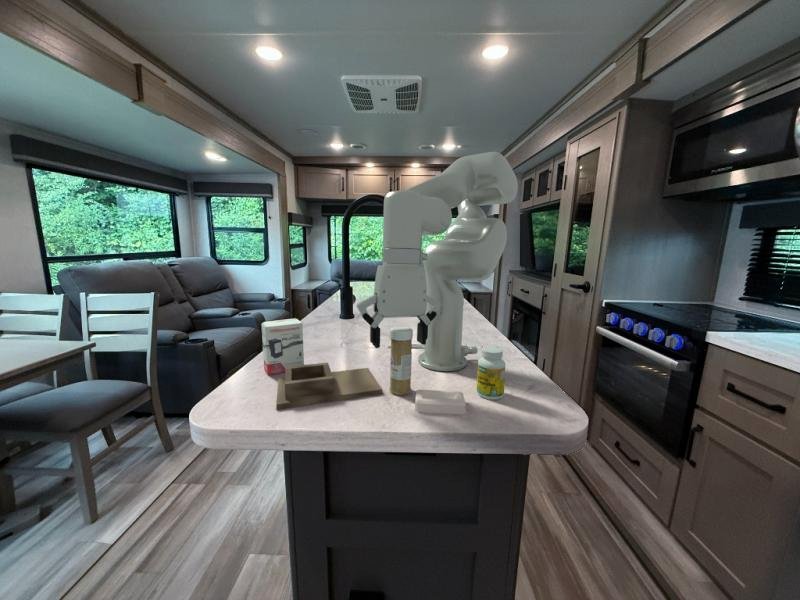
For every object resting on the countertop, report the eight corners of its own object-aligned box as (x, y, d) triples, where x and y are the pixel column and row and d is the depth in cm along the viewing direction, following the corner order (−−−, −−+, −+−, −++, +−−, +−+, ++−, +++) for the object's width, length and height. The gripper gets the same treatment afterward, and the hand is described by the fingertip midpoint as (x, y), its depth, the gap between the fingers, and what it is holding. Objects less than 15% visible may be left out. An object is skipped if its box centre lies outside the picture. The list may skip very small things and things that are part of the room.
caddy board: (368, 371, 73) (367, 355, 72) (382, 393, 62) (382, 375, 61) (278, 382, 66) (277, 365, 66) (276, 409, 55) (275, 388, 54)
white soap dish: (465, 416, 54) (466, 403, 54) (415, 413, 55) (415, 401, 55) (462, 402, 60) (462, 390, 59) (416, 399, 60) (416, 388, 60)
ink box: (267, 376, 70) (264, 326, 68) (263, 369, 74) (260, 321, 72) (304, 368, 74) (303, 321, 72) (299, 362, 78) (297, 317, 76)
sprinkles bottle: (385, 389, 64) (386, 327, 62) (403, 384, 66) (404, 324, 64) (397, 398, 60) (398, 332, 58) (415, 392, 62) (417, 329, 60)
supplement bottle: (507, 393, 63) (510, 349, 61) (497, 403, 59) (500, 356, 57) (483, 386, 66) (485, 343, 64) (471, 394, 62) (474, 349, 60)
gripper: (433, 259, 65) (430, 337, 67) (353, 257, 59) (352, 342, 61) (451, 260, 58) (446, 346, 60) (362, 257, 52) (360, 353, 54)
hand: (399, 344), depth 61 cm, fingers open, 9 cm apart
